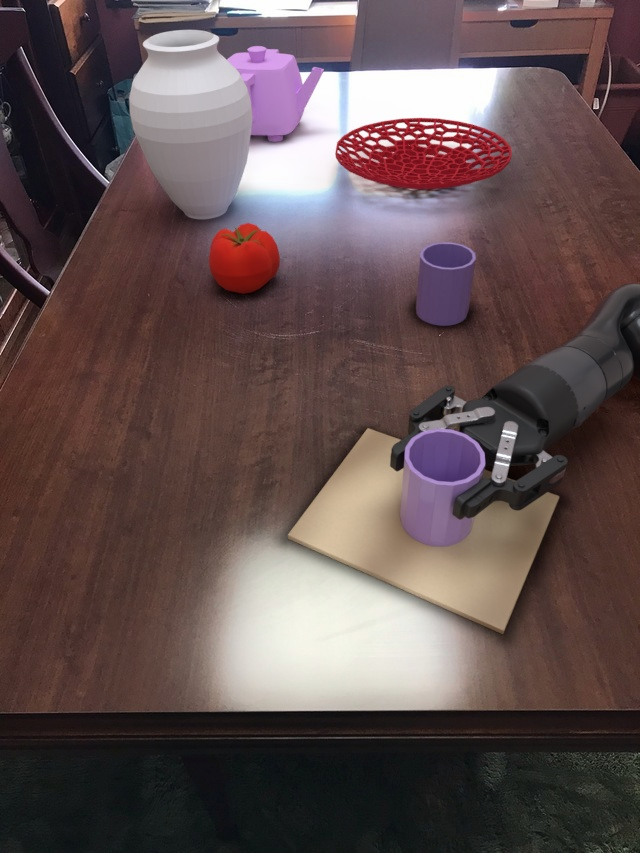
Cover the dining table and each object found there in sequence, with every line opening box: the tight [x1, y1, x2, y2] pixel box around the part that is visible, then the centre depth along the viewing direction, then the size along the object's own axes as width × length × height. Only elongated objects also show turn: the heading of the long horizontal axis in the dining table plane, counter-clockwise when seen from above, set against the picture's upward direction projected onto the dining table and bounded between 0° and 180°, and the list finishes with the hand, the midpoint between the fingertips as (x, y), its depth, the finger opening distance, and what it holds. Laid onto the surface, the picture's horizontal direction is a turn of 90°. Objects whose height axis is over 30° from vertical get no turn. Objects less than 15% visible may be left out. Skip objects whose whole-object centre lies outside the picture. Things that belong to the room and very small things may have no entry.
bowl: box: [334, 117, 513, 190], centre depth 117 cm, size 29×30×5 cm
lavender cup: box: [400, 429, 486, 547], centre depth 60 cm, size 7×7×8 cm
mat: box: [287, 427, 560, 635], centre depth 63 cm, size 20×16×1 cm
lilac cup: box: [415, 241, 477, 327], centre depth 86 cm, size 7×7×8 cm
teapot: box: [226, 45, 325, 143], centre depth 132 cm, size 19×18×15 cm
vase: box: [128, 29, 252, 220], centre depth 103 cm, size 18×18×25 cm
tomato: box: [208, 222, 281, 295], centre depth 92 cm, size 9×9×8 cm
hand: (424, 485), depth 57 cm, fingers closed on lavender cup, 6 cm apart
